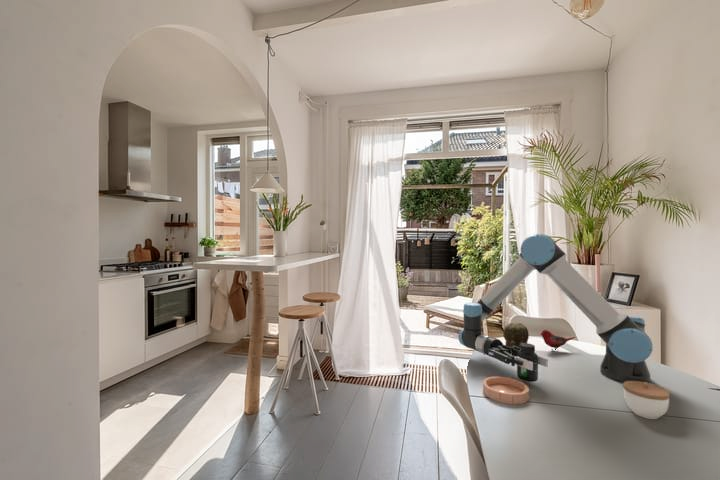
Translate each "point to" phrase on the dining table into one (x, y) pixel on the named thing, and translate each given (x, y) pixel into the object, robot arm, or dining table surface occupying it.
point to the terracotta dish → (506, 390)
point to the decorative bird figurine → (554, 339)
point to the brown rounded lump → (515, 334)
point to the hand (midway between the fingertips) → (539, 364)
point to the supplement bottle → (530, 355)
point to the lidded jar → (646, 399)
